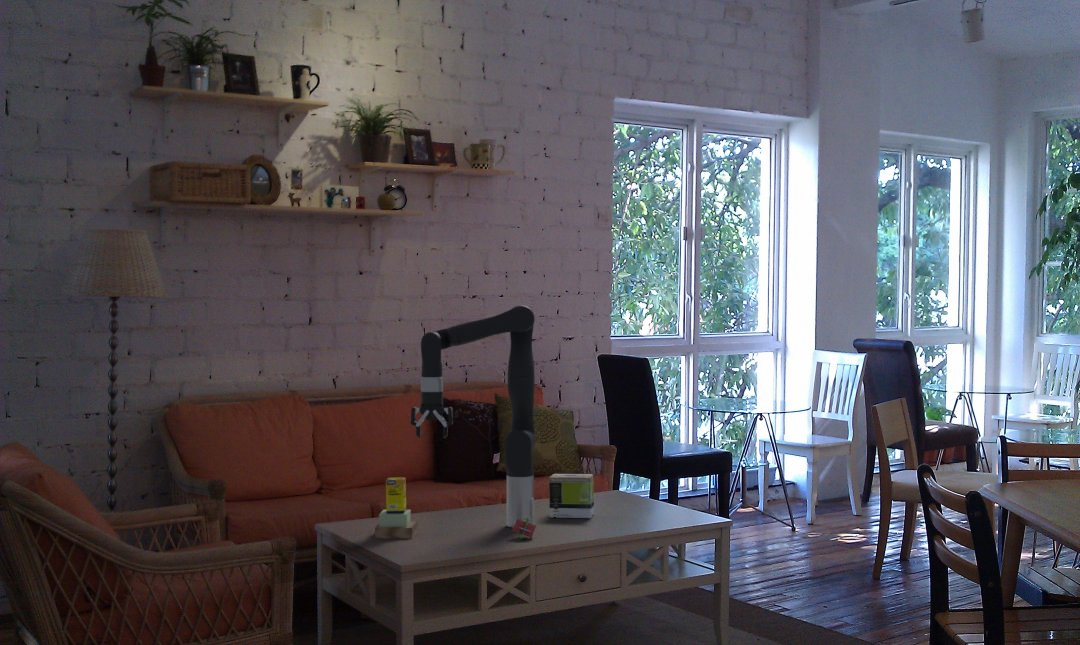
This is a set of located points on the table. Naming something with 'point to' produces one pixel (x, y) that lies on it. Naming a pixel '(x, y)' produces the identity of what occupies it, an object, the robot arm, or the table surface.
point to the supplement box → (396, 495)
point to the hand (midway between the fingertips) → (432, 437)
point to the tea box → (571, 495)
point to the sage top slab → (394, 519)
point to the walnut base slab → (397, 531)
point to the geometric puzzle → (523, 528)
